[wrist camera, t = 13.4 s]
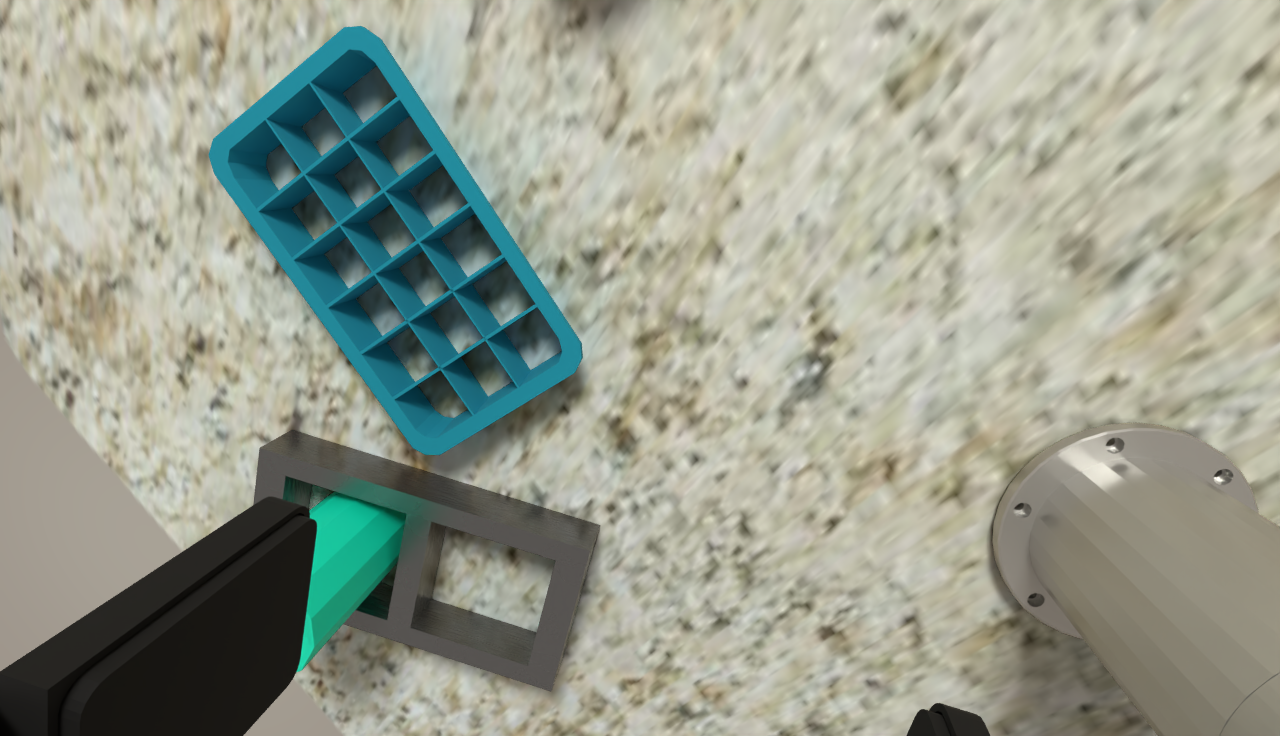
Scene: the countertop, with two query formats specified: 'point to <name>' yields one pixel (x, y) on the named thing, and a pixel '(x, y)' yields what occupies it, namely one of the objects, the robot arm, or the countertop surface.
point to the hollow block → (429, 511)
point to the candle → (347, 563)
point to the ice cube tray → (303, 259)
